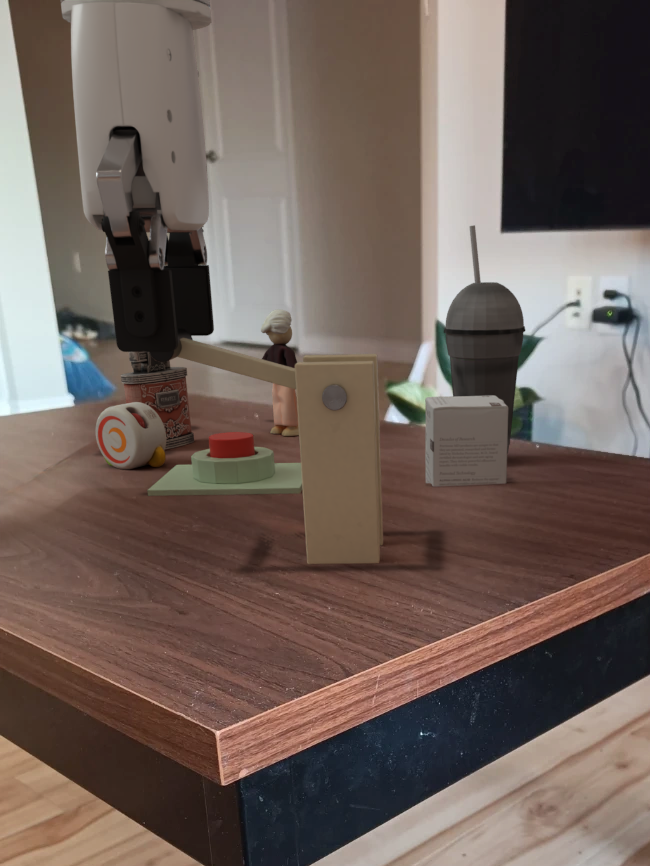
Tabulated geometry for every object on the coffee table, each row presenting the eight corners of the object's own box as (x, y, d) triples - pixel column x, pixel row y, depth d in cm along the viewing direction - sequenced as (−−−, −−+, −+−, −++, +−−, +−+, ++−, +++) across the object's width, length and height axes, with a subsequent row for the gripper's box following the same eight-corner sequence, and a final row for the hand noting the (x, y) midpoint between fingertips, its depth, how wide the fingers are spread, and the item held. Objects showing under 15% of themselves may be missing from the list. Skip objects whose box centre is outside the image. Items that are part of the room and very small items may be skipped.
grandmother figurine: (322, 433, 112) (316, 309, 107) (297, 438, 110) (289, 311, 104) (275, 427, 117) (266, 307, 112) (249, 432, 115) (239, 309, 109)
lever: (145, 367, 58) (151, 323, 57) (166, 358, 62) (172, 316, 61) (354, 424, 59) (364, 382, 58) (360, 411, 63) (369, 371, 62)
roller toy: (129, 459, 101) (121, 398, 98) (178, 465, 98) (171, 402, 96) (96, 468, 98) (86, 405, 95) (145, 473, 95) (137, 409, 92)
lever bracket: (250, 592, 62) (230, 368, 56) (270, 555, 69) (254, 353, 64) (433, 590, 61) (431, 364, 56) (434, 553, 69) (432, 350, 63)
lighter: (146, 453, 104) (133, 349, 99) (122, 451, 105) (109, 347, 101) (201, 441, 110) (191, 341, 106) (178, 438, 111) (168, 340, 107)
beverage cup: (510, 471, 92) (516, 223, 84) (433, 467, 95) (431, 226, 86) (530, 455, 98) (537, 224, 90) (457, 452, 101) (457, 226, 92)
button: (206, 462, 83) (204, 439, 82) (215, 453, 86) (213, 432, 85) (251, 461, 82) (249, 439, 82) (258, 453, 86) (256, 431, 85)
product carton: (424, 486, 87) (423, 396, 84) (495, 483, 88) (496, 393, 85) (432, 502, 82) (431, 406, 79) (508, 499, 82) (510, 403, 79)
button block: (149, 511, 81) (144, 466, 80) (178, 484, 90) (173, 443, 89) (301, 509, 81) (298, 464, 79) (314, 482, 90) (312, 441, 88)
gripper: (110, 20, 60) (144, 330, 68) (-4, -56, 45) (55, 359, 52) (237, 18, 60) (257, 330, 67) (167, -58, 45) (203, 358, 52)
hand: (169, 342), depth 60 cm, fingers open, 9 cm apart
